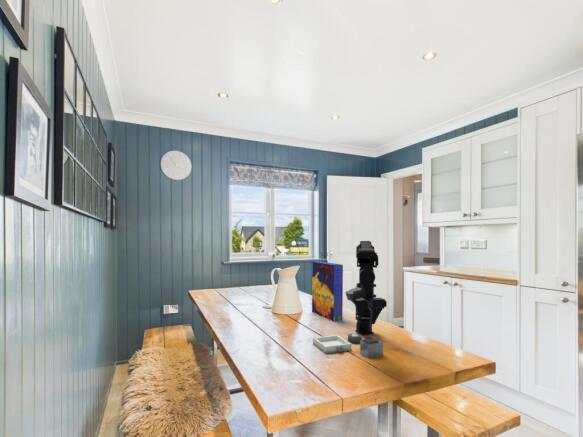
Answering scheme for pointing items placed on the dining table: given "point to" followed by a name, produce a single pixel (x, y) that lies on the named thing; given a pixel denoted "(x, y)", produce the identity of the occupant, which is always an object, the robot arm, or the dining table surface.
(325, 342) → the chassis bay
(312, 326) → the dining table surface
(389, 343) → the dining table surface
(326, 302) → the cereal box
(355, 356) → the dining table surface
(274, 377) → the dining table surface
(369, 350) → the grey stepped block
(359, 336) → the spare wheel
